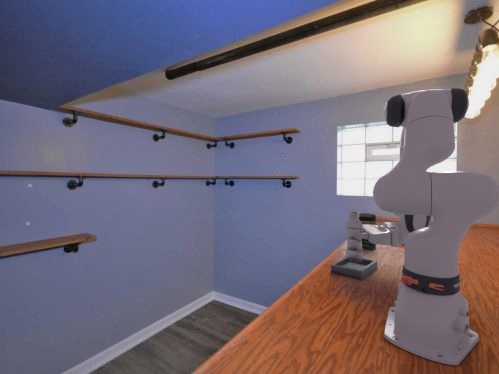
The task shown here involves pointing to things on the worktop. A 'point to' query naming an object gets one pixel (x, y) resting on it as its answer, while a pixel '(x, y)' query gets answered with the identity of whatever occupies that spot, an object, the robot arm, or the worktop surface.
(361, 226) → the plastic bottle
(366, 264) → the serving tray
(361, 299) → the worktop surface
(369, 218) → the coffee jar
